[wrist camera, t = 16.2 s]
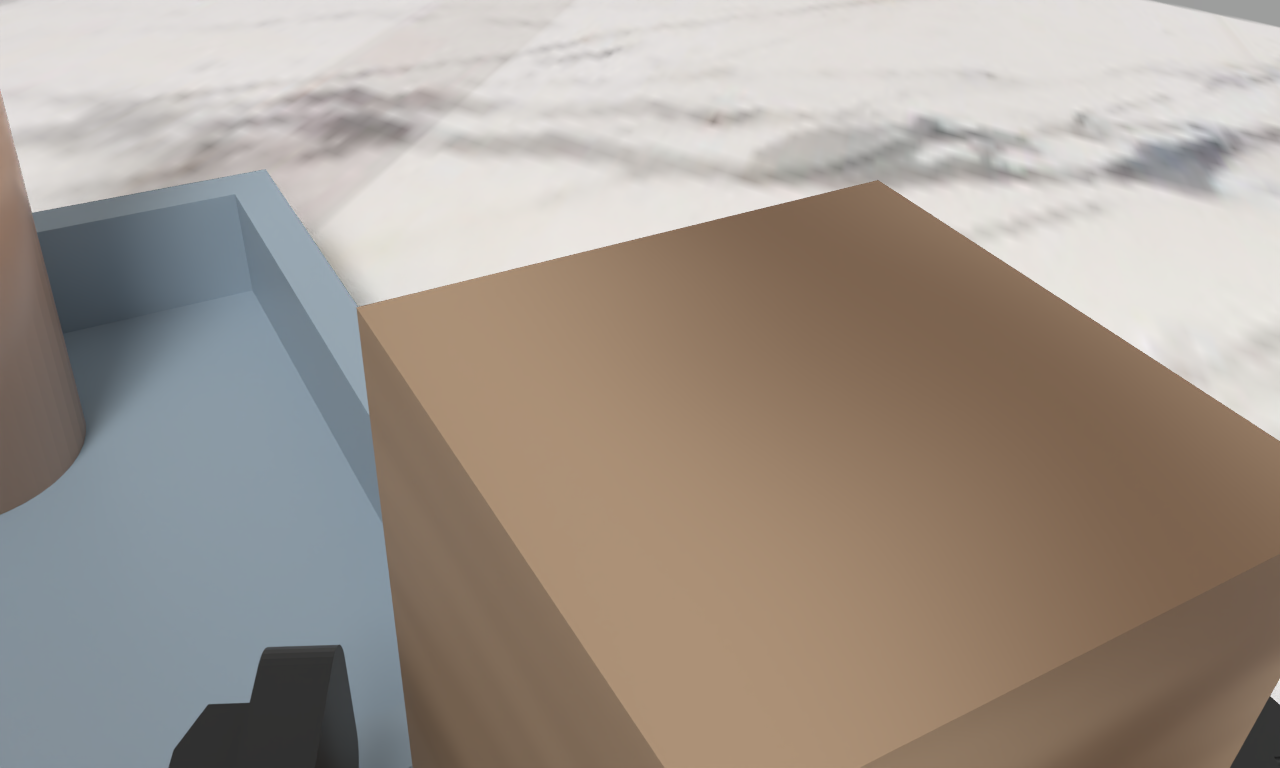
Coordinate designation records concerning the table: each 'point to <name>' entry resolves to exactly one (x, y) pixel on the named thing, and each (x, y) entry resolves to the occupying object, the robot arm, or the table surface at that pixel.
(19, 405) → the terracotta jar
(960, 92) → the table surface
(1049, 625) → the walnut block
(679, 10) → the table surface
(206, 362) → the tote
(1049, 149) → the table surface
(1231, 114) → the table surface
